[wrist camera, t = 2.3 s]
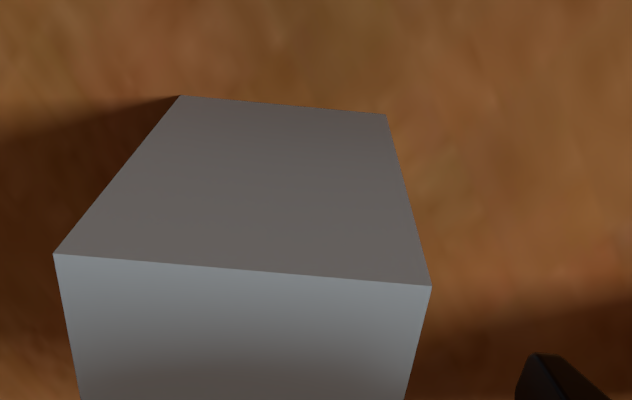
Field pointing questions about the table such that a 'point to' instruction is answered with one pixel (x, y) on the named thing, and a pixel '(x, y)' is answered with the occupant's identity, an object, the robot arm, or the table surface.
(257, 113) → the grey block
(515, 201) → the table surface
